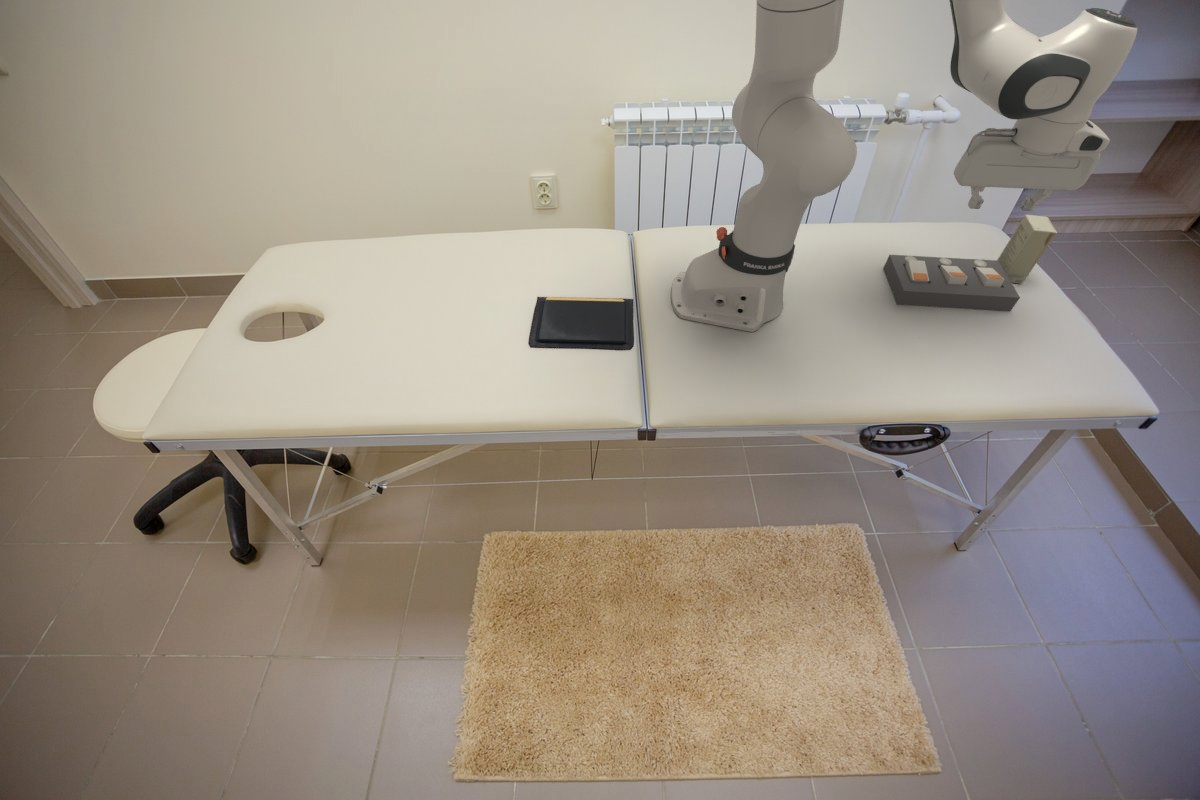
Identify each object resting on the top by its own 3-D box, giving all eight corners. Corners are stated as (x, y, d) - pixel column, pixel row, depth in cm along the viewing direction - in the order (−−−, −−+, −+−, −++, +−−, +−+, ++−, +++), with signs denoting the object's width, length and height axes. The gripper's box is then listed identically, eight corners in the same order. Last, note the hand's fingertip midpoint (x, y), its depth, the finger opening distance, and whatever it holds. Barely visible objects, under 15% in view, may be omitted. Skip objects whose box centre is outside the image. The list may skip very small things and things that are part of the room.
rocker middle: (947, 284, 113) (951, 275, 112) (937, 273, 117) (941, 264, 116) (963, 285, 113) (968, 276, 112) (953, 274, 117) (957, 265, 116)
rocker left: (908, 285, 115) (913, 279, 113) (904, 266, 117) (908, 259, 116) (925, 286, 115) (929, 280, 113) (920, 266, 117) (925, 260, 115)
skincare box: (1022, 284, 118) (1059, 233, 109) (1000, 282, 119) (1034, 231, 110) (1014, 266, 123) (1048, 215, 113) (992, 263, 123) (1025, 213, 114)
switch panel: (896, 304, 114) (904, 290, 111) (883, 268, 122) (889, 254, 119) (1010, 311, 113) (1020, 297, 110) (988, 274, 121) (998, 260, 118)
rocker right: (983, 286, 113) (987, 277, 112) (972, 275, 117) (976, 266, 116) (1000, 287, 113) (1004, 278, 112) (988, 276, 117) (992, 267, 116)
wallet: (525, 342, 105) (537, 290, 115) (526, 349, 107) (537, 297, 116) (633, 347, 104) (635, 294, 114) (633, 355, 106) (635, 301, 116)
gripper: (984, 136, 89) (944, 215, 100) (1121, 141, 88) (1066, 220, 99) (971, 119, 93) (934, 196, 104) (1102, 123, 92) (1051, 201, 103)
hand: (999, 208), depth 101 cm, fingers open, 8 cm apart
